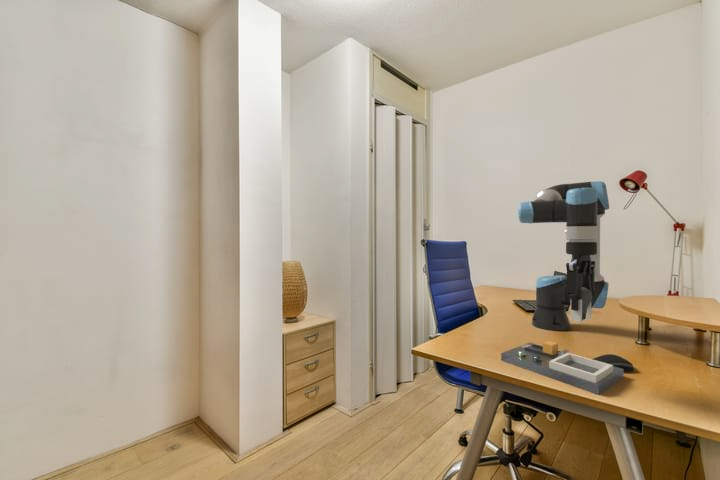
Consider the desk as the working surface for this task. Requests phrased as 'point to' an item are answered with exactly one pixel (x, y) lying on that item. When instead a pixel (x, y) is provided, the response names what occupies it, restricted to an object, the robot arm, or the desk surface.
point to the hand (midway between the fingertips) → (580, 319)
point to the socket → (593, 377)
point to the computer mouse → (616, 362)
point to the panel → (538, 362)
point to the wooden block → (550, 347)
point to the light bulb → (585, 301)
